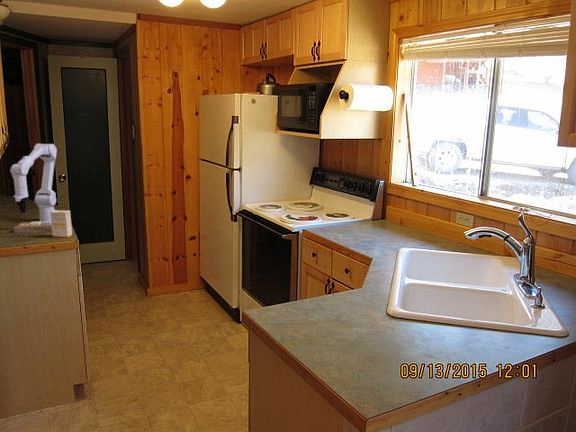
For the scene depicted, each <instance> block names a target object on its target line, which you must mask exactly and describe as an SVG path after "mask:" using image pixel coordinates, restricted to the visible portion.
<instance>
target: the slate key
mask: <svg viewBox="0 0 576 432" xmlns="http://www.w3.org/2000/svg"><path fill="white" fill-rule="evenodd" d="M42 225H51V221H43V222H42Z"/></svg>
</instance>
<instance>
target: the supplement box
mask: <svg viewBox="0 0 576 432" xmlns="http://www.w3.org/2000/svg"><path fill="white" fill-rule="evenodd" d="M50 214H51V224H52V231H51V232H52V237H53V238H69V237H72V236H73V227H72V226H73V225H72V218H71V215H72V214H71V210H63V209H61V210H59V209H55V210H54V211H52V212H50Z"/></svg>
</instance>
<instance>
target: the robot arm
mask: <svg viewBox="0 0 576 432" xmlns="http://www.w3.org/2000/svg"><path fill="white" fill-rule="evenodd" d="M57 152H58V151H57V147H56V145H55V143H54V144H53V143H36V144H35V145H34V146H33V149H32V151H31V153H29V155H25V156H22V158H21V159H20V160H19V161H18V162H17V163H14V164H12V165H11V167H10V169H9V172H10V174H11V176H12V179H13V185H14V193H15V194H14V195H13V196H12V197H13V198H14V199H15V200H14V202H15V203H16V205H17V207H18V209H19V211H20V213H22V214H24V213H26V212H27V206H28V203H29V201H30V198H29V191H28V184H27V183H28V182H27V175H28V174H29V170H30V169H31V168H32V167H33V165H34V163H35V161H36V160H37V159H38V158H40V159H41V160H42V161H43V170H42V171H43V172H42V177H41V178H42V179H41V188H40V189H39V190H38V191H36V194H35V197H34V203H35V204H36V206H37V207H38V212H39V221H41V222H43V221H51V214H50V212H52V211H54V210H56V209H55V207H54V206H55V205H56V203H57V197H56V195H57V194H56V192H55V191H54V190H52V189H53V188H52V187H53V180H54V178H53V177H54V172H55V171H54V170H55V163H56V159H57V154H58V153H57Z"/></svg>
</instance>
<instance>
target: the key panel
mask: <svg viewBox="0 0 576 432" xmlns="http://www.w3.org/2000/svg"><path fill="white" fill-rule="evenodd" d="M31 222H32V221H28V222H27V221H26V222H25V221H24V222H22V221H21V222H20V223H18V224H17V225H15V226H14V227H13V233H14V234H15V233H16V234H17V233H43V232H45V233H46V232H47V233H48V231H50V232H52V224H51V225H42V222H41V225H38V226H30V225H29V226H19V225H21V224H30V223H31Z"/></svg>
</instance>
